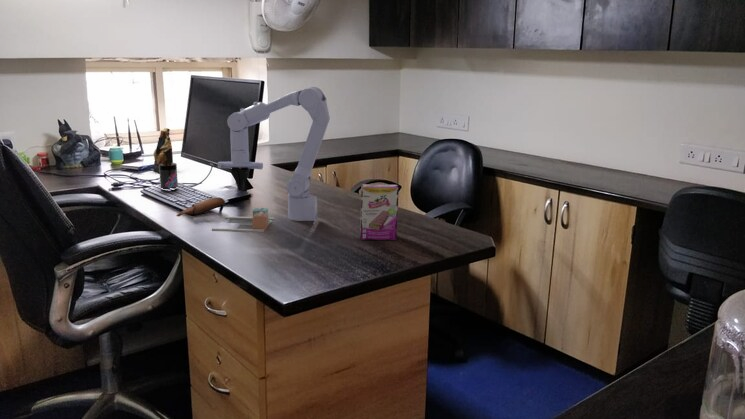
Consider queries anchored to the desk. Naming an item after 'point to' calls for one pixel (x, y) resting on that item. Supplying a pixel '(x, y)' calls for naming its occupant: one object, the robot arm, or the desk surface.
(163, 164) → the supplement container
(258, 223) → the orange block with handle
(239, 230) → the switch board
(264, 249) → the desk surface
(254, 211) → the teal handled block
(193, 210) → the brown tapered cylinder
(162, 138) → the statue
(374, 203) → the candy bar box
